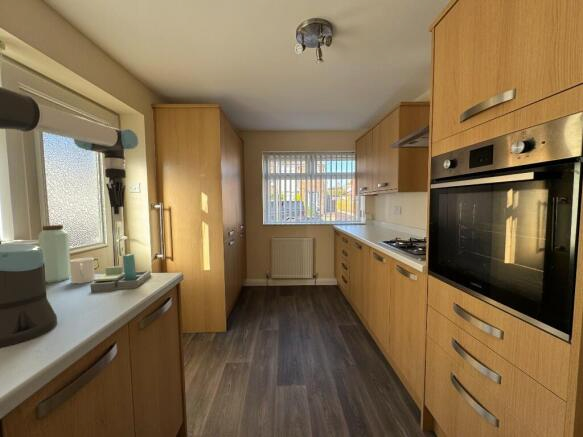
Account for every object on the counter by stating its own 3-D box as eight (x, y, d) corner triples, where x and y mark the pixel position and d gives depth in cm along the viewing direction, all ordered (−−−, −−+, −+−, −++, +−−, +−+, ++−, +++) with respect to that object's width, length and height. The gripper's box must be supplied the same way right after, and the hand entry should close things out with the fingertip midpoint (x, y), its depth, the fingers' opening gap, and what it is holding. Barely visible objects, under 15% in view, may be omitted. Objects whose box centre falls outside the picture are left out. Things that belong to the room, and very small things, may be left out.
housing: (136, 288, 102) (135, 281, 101) (91, 291, 98) (90, 284, 98) (151, 275, 119) (150, 269, 119) (113, 278, 116) (112, 272, 116)
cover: (116, 279, 102) (116, 271, 102) (93, 281, 100) (93, 272, 100) (125, 274, 111) (125, 265, 110) (104, 275, 109) (104, 267, 109)
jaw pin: (133, 284, 105) (130, 255, 104) (123, 284, 104) (120, 256, 103) (138, 281, 109) (135, 253, 108) (128, 281, 108) (125, 254, 107)
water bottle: (77, 276, 121) (73, 224, 119) (59, 282, 111) (55, 226, 109) (55, 276, 120) (51, 224, 118) (35, 283, 110) (30, 226, 108)
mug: (69, 287, 104) (67, 263, 104) (72, 280, 114) (71, 259, 113) (94, 283, 109) (92, 261, 108) (95, 277, 119) (93, 256, 118)
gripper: (118, 166, 107) (121, 222, 108) (130, 170, 120) (133, 220, 121) (98, 166, 105) (101, 222, 107) (112, 170, 118) (115, 220, 120)
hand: (118, 221), depth 114 cm, fingers closed
